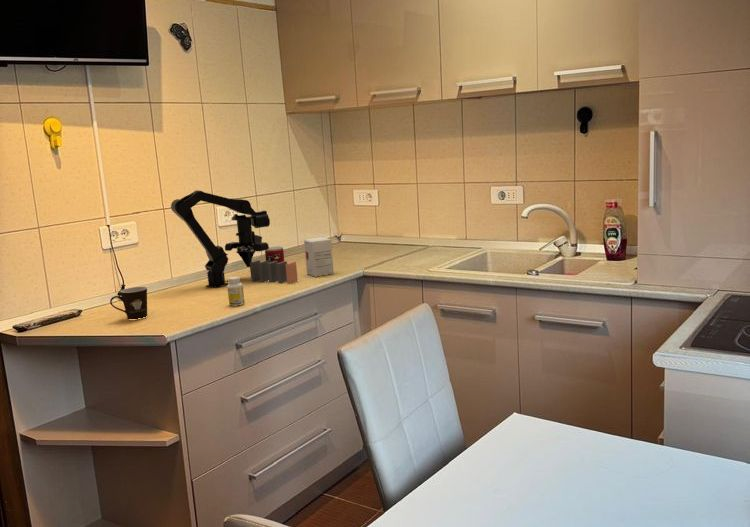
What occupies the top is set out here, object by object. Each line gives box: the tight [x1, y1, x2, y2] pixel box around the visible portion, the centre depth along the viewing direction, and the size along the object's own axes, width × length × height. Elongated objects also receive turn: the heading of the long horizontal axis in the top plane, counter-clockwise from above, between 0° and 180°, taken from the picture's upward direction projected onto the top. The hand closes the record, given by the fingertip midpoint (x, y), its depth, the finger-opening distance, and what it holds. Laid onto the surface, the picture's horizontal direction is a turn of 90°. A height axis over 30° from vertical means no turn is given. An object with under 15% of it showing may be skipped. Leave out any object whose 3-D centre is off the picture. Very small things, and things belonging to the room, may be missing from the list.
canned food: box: [264, 245, 285, 263], centre depth 302 cm, size 8×8×11 cm
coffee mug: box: [109, 286, 148, 320], centre depth 239 cm, size 12×9×10 cm
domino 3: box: [267, 261, 278, 283], centre depth 284 cm, size 5×2×8 cm, turn 152°
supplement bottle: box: [226, 276, 245, 307], centre depth 249 cm, size 5×5×10 cm
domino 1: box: [249, 259, 261, 283], centre depth 289 cm, size 5×2×8 cm, turn 152°
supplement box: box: [303, 236, 335, 278], centre depth 292 cm, size 9×9×15 cm
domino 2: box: [258, 260, 269, 283], centre depth 287 cm, size 5×2×8 cm, turn 152°
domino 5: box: [286, 261, 299, 284], centre depth 280 cm, size 5×2×8 cm, turn 152°
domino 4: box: [276, 260, 288, 284], centre depth 282 cm, size 5×2×8 cm, turn 152°
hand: (248, 267), depth 290 cm, fingers closed
